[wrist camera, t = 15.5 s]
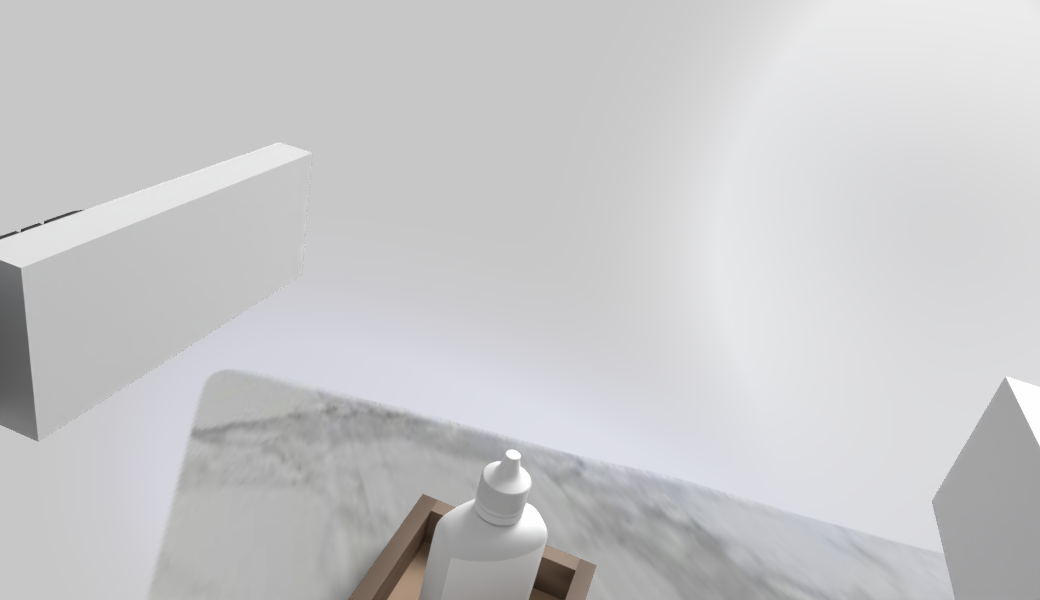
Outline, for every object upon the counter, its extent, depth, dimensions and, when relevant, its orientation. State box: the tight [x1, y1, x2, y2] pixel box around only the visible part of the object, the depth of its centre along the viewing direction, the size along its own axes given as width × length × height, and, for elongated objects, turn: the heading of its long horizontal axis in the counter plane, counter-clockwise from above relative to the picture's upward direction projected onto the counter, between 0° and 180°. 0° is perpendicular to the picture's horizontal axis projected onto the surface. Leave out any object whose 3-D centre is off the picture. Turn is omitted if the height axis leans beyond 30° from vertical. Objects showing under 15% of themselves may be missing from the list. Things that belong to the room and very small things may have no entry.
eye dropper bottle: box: [419, 450, 547, 600], centre depth 39 cm, size 4×6×12 cm
